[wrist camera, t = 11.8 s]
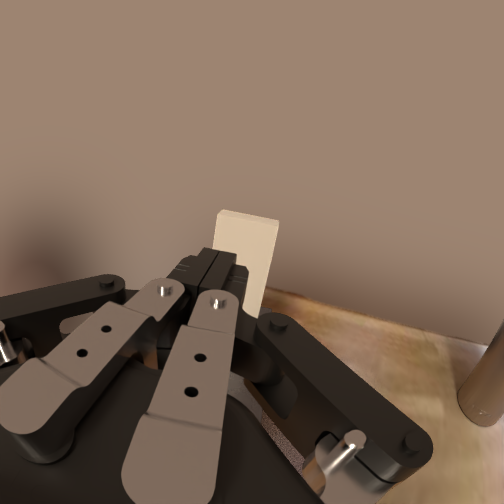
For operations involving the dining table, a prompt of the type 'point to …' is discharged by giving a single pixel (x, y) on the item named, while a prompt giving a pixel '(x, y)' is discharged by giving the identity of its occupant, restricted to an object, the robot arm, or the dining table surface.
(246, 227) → the slider tab
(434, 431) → the dining table surface
